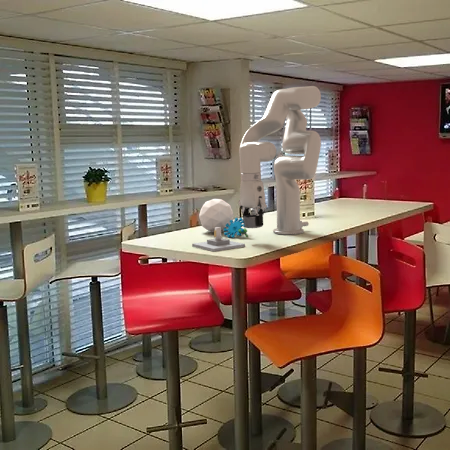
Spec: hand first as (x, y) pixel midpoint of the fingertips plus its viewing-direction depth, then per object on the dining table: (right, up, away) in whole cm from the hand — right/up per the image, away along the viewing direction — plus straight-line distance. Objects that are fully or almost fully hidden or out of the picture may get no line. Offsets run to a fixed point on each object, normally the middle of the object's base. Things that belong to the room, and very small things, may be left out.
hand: (253, 224), depth 223 cm
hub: (0, -1, 0) cm, 1 cm away
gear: (-6, -5, +15) cm, 17 cm away
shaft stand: (-13, -8, -5) cm, 16 cm away
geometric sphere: (-14, -3, +29) cm, 33 cm away
